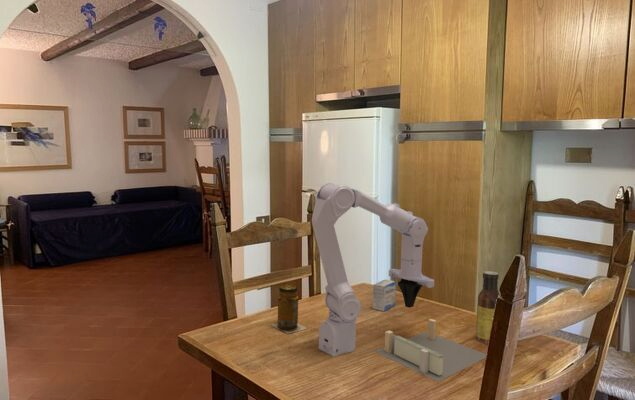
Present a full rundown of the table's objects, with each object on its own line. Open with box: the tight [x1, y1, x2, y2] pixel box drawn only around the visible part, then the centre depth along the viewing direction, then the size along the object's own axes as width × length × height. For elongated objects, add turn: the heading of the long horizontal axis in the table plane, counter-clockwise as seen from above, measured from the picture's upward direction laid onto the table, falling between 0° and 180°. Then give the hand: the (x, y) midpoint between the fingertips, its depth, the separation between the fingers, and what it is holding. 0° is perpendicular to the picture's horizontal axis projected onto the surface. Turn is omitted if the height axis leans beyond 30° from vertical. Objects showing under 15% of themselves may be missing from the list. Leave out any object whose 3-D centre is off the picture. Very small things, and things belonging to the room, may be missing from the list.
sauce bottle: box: [475, 270, 500, 345], centre depth 128 cm, size 6×6×20 cm
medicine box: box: [372, 279, 397, 312], centre depth 155 cm, size 8×4×9 cm, turn 143°
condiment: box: [271, 284, 308, 334], centre depth 136 cm, size 7×8×12 cm
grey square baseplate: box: [374, 318, 487, 383], centre depth 119 cm, size 22×20×6 cm
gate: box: [391, 333, 443, 375], centre depth 113 cm, size 15×1×5 cm, turn 38°
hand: (409, 306), depth 129 cm, fingers closed
